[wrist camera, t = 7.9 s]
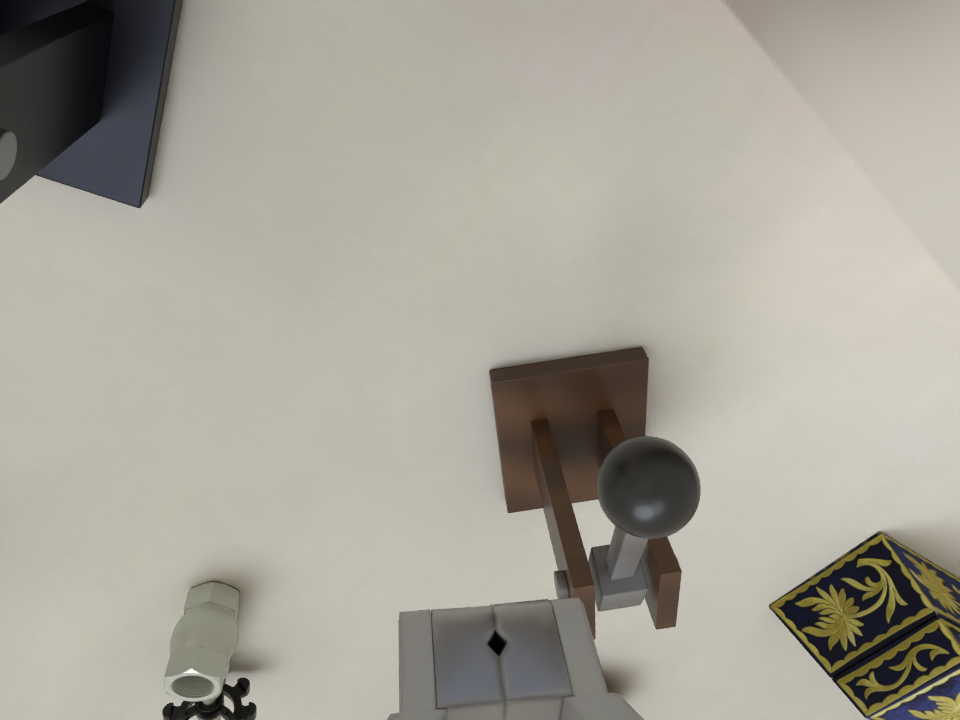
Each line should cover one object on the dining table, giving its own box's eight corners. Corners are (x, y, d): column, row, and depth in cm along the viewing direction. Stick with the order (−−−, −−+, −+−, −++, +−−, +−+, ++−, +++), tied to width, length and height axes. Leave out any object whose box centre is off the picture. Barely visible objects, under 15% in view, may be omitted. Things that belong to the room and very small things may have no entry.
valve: (163, 577, 46) (175, 674, 53) (132, 668, 41) (150, 764, 47) (263, 579, 47) (263, 674, 54) (246, 669, 42) (248, 761, 49)
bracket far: (488, 369, 39) (524, 548, 28) (642, 346, 39) (733, 515, 29) (505, 500, 45) (538, 684, 35) (637, 479, 45) (709, 657, 35)
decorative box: (953, 689, 68) (1020, 786, 61) (768, 605, 56) (824, 714, 49) (1054, 634, 64) (1139, 731, 56) (876, 529, 51) (956, 637, 44)
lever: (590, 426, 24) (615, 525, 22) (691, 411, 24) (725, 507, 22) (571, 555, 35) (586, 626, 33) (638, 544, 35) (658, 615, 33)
